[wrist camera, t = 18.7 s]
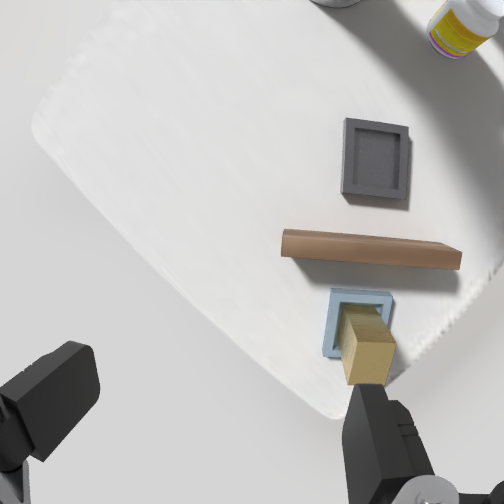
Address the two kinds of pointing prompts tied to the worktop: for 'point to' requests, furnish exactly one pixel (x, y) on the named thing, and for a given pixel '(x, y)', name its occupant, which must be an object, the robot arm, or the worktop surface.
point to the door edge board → (368, 249)
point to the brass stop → (365, 345)
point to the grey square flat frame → (374, 158)
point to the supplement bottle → (464, 25)
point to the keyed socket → (351, 297)
